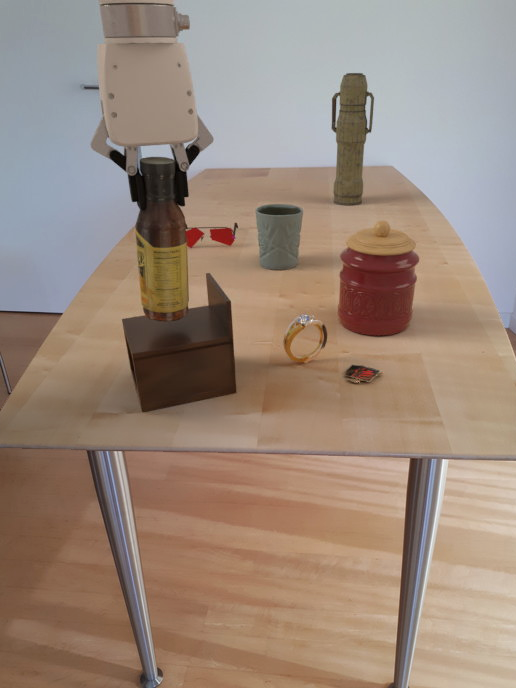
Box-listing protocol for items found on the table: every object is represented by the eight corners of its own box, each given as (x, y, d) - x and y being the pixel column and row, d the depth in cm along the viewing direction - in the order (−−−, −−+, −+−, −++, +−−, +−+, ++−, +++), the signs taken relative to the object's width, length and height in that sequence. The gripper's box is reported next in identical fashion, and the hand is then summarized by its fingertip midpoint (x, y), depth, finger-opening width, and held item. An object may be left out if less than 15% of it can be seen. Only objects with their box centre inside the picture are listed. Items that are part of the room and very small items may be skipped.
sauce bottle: (148, 304, 76) (138, 152, 66) (193, 307, 76) (189, 156, 66) (136, 323, 71) (122, 161, 61) (184, 326, 71) (178, 164, 61)
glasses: (178, 249, 131) (175, 228, 129) (186, 229, 146) (184, 210, 143) (236, 248, 132) (235, 227, 129) (238, 228, 146) (237, 209, 143)
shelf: (142, 412, 73) (125, 317, 66) (131, 373, 82) (115, 285, 75) (236, 392, 77) (231, 301, 70) (216, 357, 86) (209, 272, 79)
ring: (288, 371, 82) (288, 323, 78) (280, 361, 84) (280, 314, 80) (330, 362, 84) (332, 315, 80) (321, 353, 87) (322, 306, 82)
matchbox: (349, 365, 83) (349, 362, 83) (383, 370, 81) (383, 368, 81) (342, 381, 79) (342, 378, 79) (377, 386, 78) (377, 384, 77)
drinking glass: (247, 263, 122) (245, 209, 116) (279, 252, 128) (279, 200, 122) (280, 274, 116) (279, 218, 110) (311, 262, 122) (312, 208, 116)
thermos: (329, 197, 174) (334, 72, 156) (367, 199, 172) (376, 72, 154) (326, 204, 166) (331, 74, 148) (365, 206, 165) (375, 74, 147)
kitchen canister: (427, 326, 94) (441, 224, 85) (367, 344, 89) (375, 237, 80) (379, 300, 104) (388, 206, 95) (322, 315, 99) (326, 217, 90)
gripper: (209, 28, 62) (219, 193, 72) (54, 28, 57) (87, 205, 67) (227, 26, 56) (235, 206, 66) (55, 26, 51) (92, 221, 61)
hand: (160, 204), depth 66 cm, fingers closed on sauce bottle, 4 cm apart
